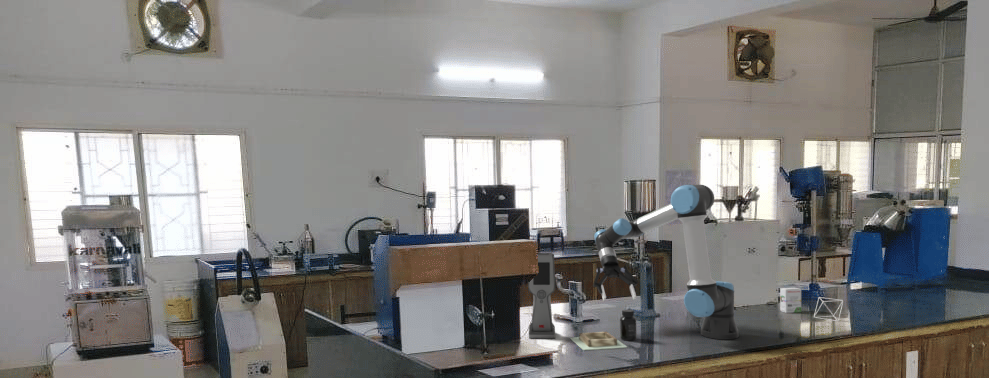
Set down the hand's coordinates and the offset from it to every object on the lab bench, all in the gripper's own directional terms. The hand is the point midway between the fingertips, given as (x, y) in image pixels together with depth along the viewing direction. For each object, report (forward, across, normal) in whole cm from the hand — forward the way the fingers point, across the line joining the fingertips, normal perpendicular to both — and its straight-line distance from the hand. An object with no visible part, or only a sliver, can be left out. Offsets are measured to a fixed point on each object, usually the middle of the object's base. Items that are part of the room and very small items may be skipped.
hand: (619, 298), depth 259 cm
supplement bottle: (+18, 0, -4) cm, 18 cm away
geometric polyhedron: (+4, -106, -17) cm, 107 cm away
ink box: (-7, -98, -28) cm, 102 cm away
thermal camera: (+9, +34, -12) cm, 37 cm away
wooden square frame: (+20, +14, -1) cm, 25 cm away
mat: (+20, +14, -1) cm, 25 cm away
